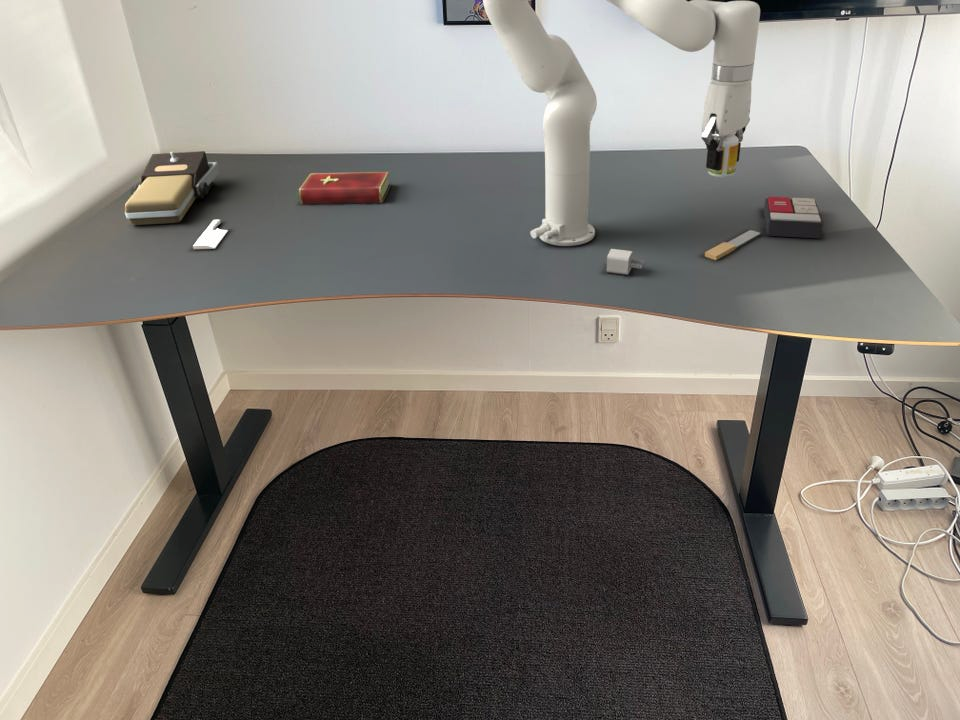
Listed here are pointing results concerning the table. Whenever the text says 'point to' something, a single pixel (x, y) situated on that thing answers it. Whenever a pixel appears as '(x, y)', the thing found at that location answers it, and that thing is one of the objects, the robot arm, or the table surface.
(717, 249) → the chisel
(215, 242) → the butcher knife
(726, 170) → the supplement bottle
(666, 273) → the table surface
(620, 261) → the usb wall charger
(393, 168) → the table surface
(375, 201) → the hardcover book
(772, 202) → the calculator
